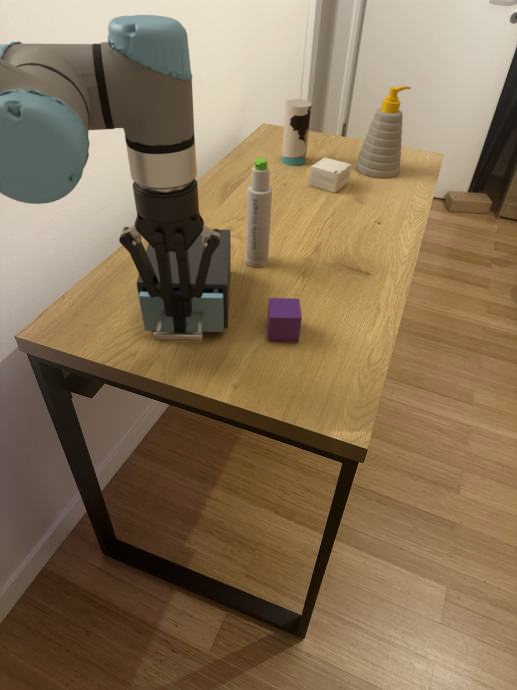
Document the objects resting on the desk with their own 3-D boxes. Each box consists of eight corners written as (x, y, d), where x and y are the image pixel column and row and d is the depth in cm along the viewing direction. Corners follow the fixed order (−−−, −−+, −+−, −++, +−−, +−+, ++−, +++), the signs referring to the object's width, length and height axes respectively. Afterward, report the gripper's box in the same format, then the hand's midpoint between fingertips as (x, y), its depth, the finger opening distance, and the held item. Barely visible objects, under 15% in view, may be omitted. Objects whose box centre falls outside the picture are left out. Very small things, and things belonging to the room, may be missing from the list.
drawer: (221, 359, 70) (221, 324, 65) (137, 358, 69) (130, 323, 64) (226, 276, 86) (226, 244, 81) (158, 275, 85) (154, 242, 80)
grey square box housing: (227, 327, 76) (227, 284, 70) (144, 326, 76) (136, 282, 70) (230, 270, 89) (230, 229, 83) (158, 269, 88) (153, 227, 82)
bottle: (241, 261, 91) (242, 160, 78) (255, 252, 94) (259, 153, 80) (258, 269, 89) (263, 167, 76) (272, 260, 92) (279, 160, 78)
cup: (307, 165, 128) (314, 107, 118) (284, 166, 127) (288, 107, 117) (302, 156, 133) (308, 99, 123) (279, 156, 132) (283, 99, 122)
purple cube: (268, 341, 74) (269, 317, 71) (267, 321, 78) (268, 297, 75) (298, 341, 75) (301, 317, 71) (296, 321, 78) (299, 298, 75)
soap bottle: (409, 174, 126) (430, 92, 112) (372, 181, 122) (390, 96, 108) (381, 158, 134) (398, 79, 120) (345, 164, 130) (359, 83, 116)
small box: (321, 175, 123) (324, 156, 120) (348, 183, 120) (352, 163, 117) (308, 185, 118) (310, 165, 115) (335, 193, 115) (338, 173, 112)
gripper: (222, 167, 57) (224, 316, 73) (115, 164, 56) (141, 314, 72) (219, 194, 51) (223, 348, 67) (100, 191, 51) (133, 347, 67)
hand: (180, 331), depth 70 cm, fingers closed
